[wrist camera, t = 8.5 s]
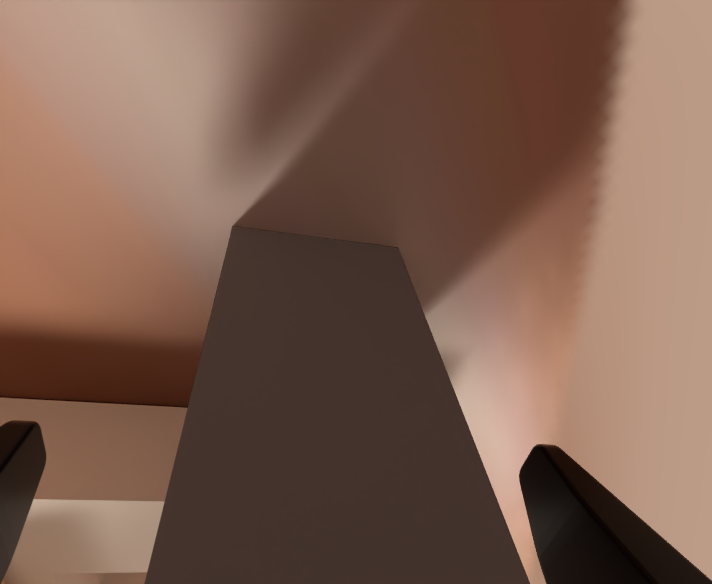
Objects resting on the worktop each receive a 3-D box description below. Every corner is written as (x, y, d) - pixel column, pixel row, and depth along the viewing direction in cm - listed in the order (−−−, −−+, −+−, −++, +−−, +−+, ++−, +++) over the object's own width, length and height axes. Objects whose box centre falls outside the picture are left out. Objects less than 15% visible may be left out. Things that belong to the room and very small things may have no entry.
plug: (364, 367, 14) (431, 725, 7) (223, 357, 13) (151, 749, 6) (397, 247, 12) (534, 595, 5) (232, 226, 11) (139, 605, 4)
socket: (321, 602, 21) (326, 685, 19) (-155, 615, 18) (-228, 719, 15) (382, 418, 15) (400, 505, 13) (-336, 379, 11) (-511, 490, 9)
